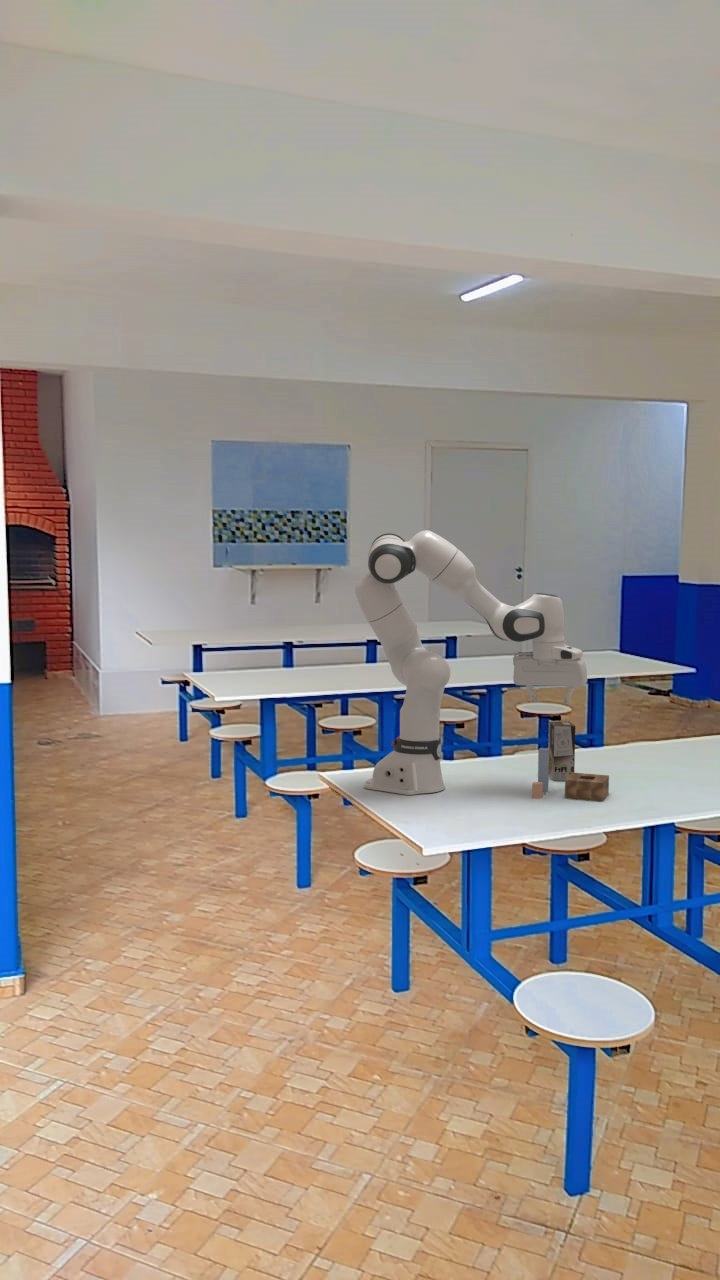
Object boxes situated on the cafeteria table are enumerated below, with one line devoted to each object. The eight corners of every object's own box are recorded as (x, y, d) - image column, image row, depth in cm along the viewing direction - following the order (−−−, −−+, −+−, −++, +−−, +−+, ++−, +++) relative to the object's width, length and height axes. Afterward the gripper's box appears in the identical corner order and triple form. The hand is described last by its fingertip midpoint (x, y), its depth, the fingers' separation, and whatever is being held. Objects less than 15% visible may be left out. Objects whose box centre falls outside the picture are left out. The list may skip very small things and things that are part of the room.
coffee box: (575, 781, 291) (576, 726, 290) (552, 781, 291) (553, 725, 290) (569, 774, 300) (570, 720, 299) (547, 774, 300) (548, 720, 299)
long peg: (537, 792, 277) (538, 749, 276) (539, 790, 279) (540, 747, 278) (546, 793, 276) (547, 750, 275) (548, 791, 278) (549, 748, 277)
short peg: (532, 798, 271) (532, 783, 270) (534, 796, 273) (534, 781, 272) (540, 798, 270) (541, 784, 269) (542, 797, 272) (543, 782, 272)
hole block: (564, 798, 270) (565, 779, 270) (571, 790, 280) (572, 772, 279) (602, 801, 267) (603, 783, 266) (608, 793, 276) (608, 775, 275)
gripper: (508, 653, 278) (510, 702, 279) (581, 653, 268) (583, 704, 269) (516, 650, 283) (518, 699, 285) (588, 650, 274) (589, 701, 275)
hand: (550, 701), depth 277 cm, fingers open, 8 cm apart
